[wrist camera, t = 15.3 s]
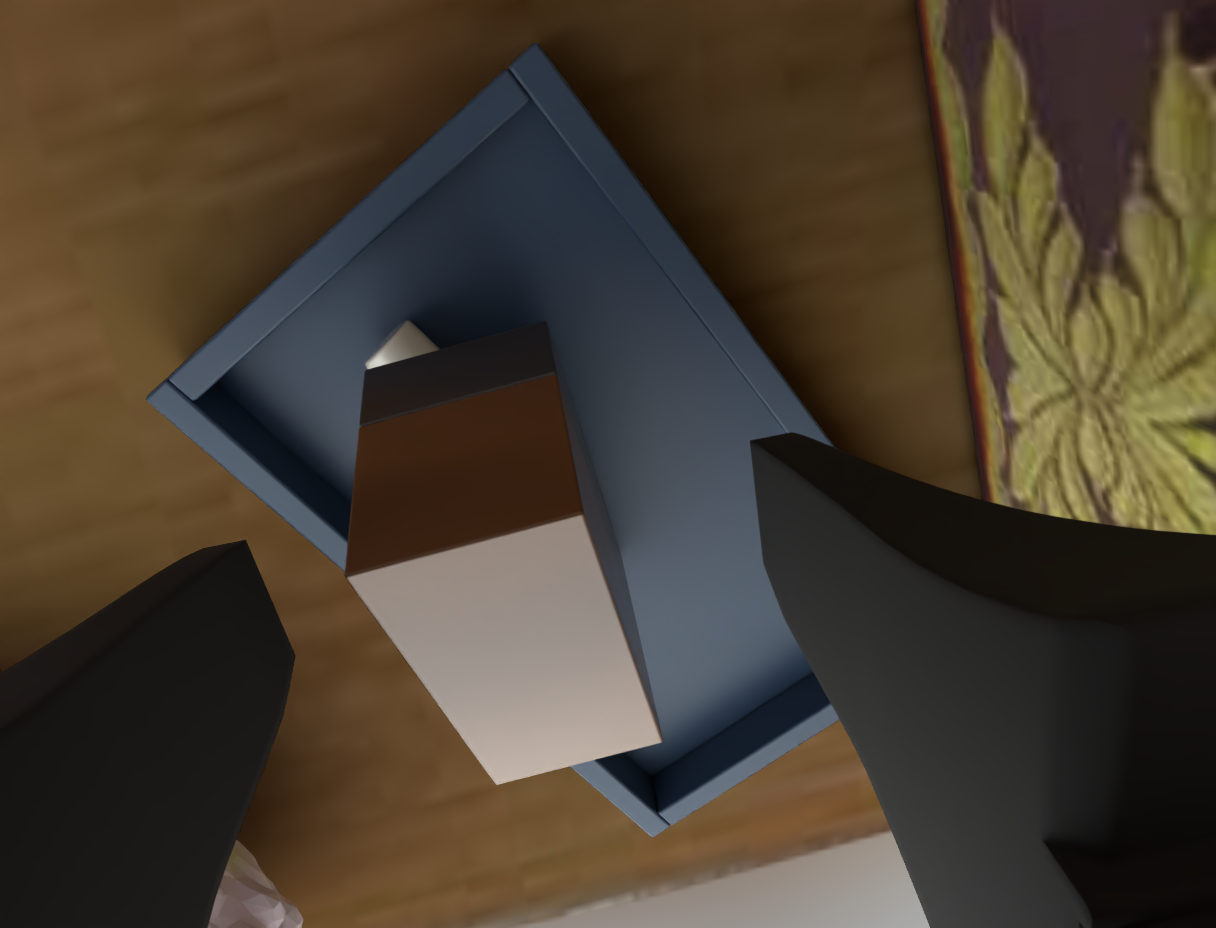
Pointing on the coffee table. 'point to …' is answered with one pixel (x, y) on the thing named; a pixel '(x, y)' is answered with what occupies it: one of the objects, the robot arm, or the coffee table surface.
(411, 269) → the tray
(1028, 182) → the decorative box
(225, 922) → the decorative item
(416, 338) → the chalk
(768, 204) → the coffee table surface
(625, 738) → the eraser
